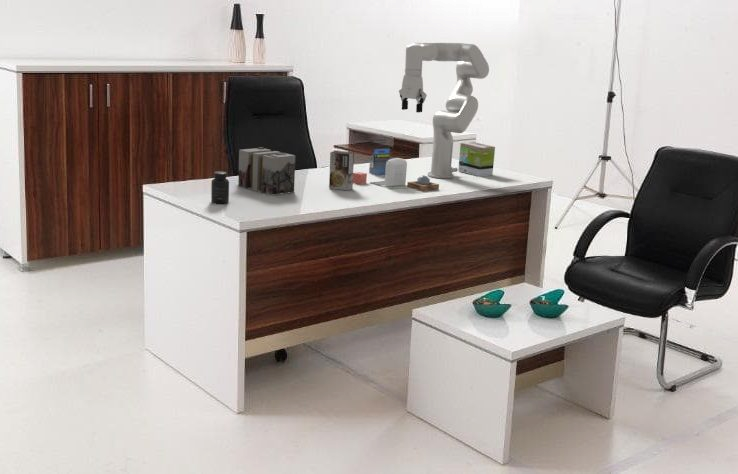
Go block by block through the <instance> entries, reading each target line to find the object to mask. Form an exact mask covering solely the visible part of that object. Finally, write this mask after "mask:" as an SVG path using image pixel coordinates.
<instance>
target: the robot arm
mask: <svg viewBox="0 0 738 474" xmlns="http://www.w3.org/2000/svg"><path fill="white" fill-rule="evenodd" d="M423 61H425V62H431V61H436V62H457V63H456V66H455V72H456V85H455V87H454V88H453V90H452V92H451V94H450V95H449V96H448V98H447V100H446V103H445V109H446V110H439V111H435V113H434V115H433V117H432V127H433V128H432V129H433V141H432V142H433V143H432V154H431V167H430V171H429V172H427V177H430V178H435V179H453V178H454V177H455V176H454V175H455V174H453V173H455V172H459V171H458V169H459V168H458V167H452V161H453V160H452V158H453V149H454V148H453V146H454V138H453V134H452V133H455V134H462V133H464V132H466V130H467V129H468V127H469V125H471V122H472V121H473V119H474V118H475V116H476V114H477V112H478V111H479V110H478V109H479V101H478V98H476V97H475V96H474V95H472V93H473V91H474V90H473V89H474V88H473V84H472V81H471V79H478V80H483V79H486V78H487V77H488V75H489V72H490V66H489V63H488V61H487V60H486V58H485V56H484V54H483V53H482V50H481V49H480V48H479V47H478V46H477V45H476V44H473V43H463V42H462V43H461V42H433V43H432V42H413V43H411V44H408V45H407V46H406V48H405V61H404V62H405V66H404V67H405V69H404V74H403V78H402V82H401V83H402V84H401V89H399V90H398V93H399V97H400V100H401V111H402V110H403V111H404V110H408V108H409V99H412V100H415V101H416V107H415V109H416V110H415V112H416V113H418V114H419V113H422V112H423V106H424V105H423V104H424V103H425V101H426V98H427V93H426V92H424V82H423V75H422V73H423Z"/></svg>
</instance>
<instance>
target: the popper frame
mask: <svg viewBox="0 0 738 474" xmlns="http://www.w3.org/2000/svg"><path fill="white" fill-rule="evenodd" d="M406 183H407V184H406V185H407V187H406V188H409V189H413V190H415V191H419V192H430V191H438V190H439V189H440V184H439V183H435V182H431V181H430V184H429V185H421V184H417V181H416V180H413V181H407V182H406Z"/></svg>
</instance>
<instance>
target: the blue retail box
mask: <svg viewBox="0 0 738 474" xmlns="http://www.w3.org/2000/svg"><path fill="white" fill-rule="evenodd" d="M390 149H391V148H374V149H373V151H374V152H373V154H372V155H370V156H369V165H368V166H369V169H368V173H369V174H371V175H373V176H374V175H382V174H383V175H385V170H386V162H387V161H388V160H390Z"/></svg>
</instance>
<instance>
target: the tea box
mask: <svg viewBox="0 0 738 474" xmlns="http://www.w3.org/2000/svg"><path fill="white" fill-rule="evenodd" d="M495 151H496V147H495V146H493V145H489V144H484V143H480V142H476V141H471V142H461V143H460V147H459V157H458V158H459V159H458V168H457V169H458V171H457V172H458V173H459V172H461V173H465V174H469V175H472V176H474V177H475V176H476V177H478V176H479V177H478V178H480V177H481V176H482V177H487V176H493V174H494V173H493V172H494V165H495V163H494V161H495V153H496V152H495ZM482 177H481V178H482Z"/></svg>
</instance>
